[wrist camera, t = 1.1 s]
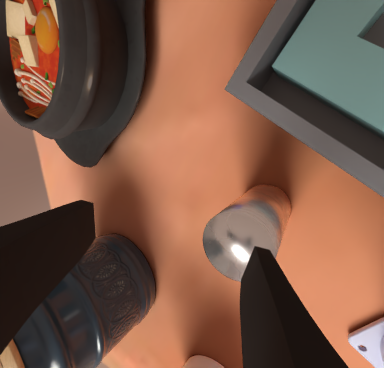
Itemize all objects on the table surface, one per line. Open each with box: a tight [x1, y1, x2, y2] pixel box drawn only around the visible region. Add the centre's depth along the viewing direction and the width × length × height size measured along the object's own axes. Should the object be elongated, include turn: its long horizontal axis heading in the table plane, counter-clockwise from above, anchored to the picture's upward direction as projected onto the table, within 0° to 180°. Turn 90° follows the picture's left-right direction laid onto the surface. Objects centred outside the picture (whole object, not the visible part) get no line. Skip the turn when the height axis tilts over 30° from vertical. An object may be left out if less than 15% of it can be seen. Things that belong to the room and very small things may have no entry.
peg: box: [203, 184, 291, 282], centre depth 14 cm, size 4×4×8 cm
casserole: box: [0, 0, 146, 167], centre depth 22 cm, size 25×19×8 cm
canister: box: [0, 234, 155, 368], centre depth 23 cm, size 13×13×18 cm
